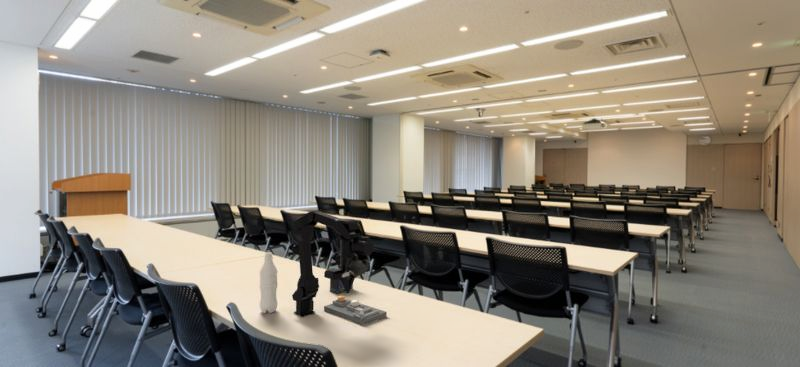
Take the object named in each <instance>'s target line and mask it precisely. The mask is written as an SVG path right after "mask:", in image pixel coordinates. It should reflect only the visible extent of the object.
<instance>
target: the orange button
mask: <svg viewBox="0 0 800 367" xmlns="http://www.w3.org/2000/svg"><path fill="white" fill-rule="evenodd" d="M336 298H337V299H336V300H337V302H340V303H342V302H345V299H346V296H345V295H338V296H337V297H336Z"/></svg>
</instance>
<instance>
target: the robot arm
mask: <svg viewBox="0 0 800 367" xmlns="http://www.w3.org/2000/svg"><path fill="white" fill-rule="evenodd" d="M317 224H321V225H324V226H326V227H329V228H332V229H334V231H335V232H336V233H337V234H339V236H337V237H336V241H340V254H338V258H339V259H340V264H339V265H338V266H337V267H338V268H334V267H333V268H328V269H326V270H325V271H324V273H323V274H324V276H323V277H324V278H327V279H329V280H330V279H332V280H336V279H340V281H341V282H342V284H343V287H344V289H345V292H346V294H350V293H351V287H352V284H353V285H354V281H355V279H356V278H357V277H359V276H360V275H365V274H366V273H367V272H368V273H369V272H370V271H371V266H370V260H368V259H364V260H360V259H359V255H362V256H371V255H372V254H373V252H374V246H375V245H374V243H373V241H372V240H371V237H370V236H364V234H363V231H362V230H361V228H360V226H359V223H358V221H357V220H356V219H353V218H341V217H337V216H334V215H331V214H328V213H325V212H322V211H320V210H318V209H317V210H310V211H308V212H307V213H306V214H304V215H302V216H301V217H299V218H298V219H295V220H294V221H293V223H292V226H291V227H292V232H293V236H294V238H295V239H296V240H297V246H298V247H297V248H298V260H299V270H300V271H299V273H300V276H299V278H298V281H297V282H296V283H297V284H296V285H297V286H296V287H297V288H296V290H295V291H294V292H293V294H291V297H292V300H293V301H295V311H293V313H294V315H297V316H299V317H303V318H304V317H307V316H309V315H313V314H315V313H316V311H315V310H314V306H315V305H314V298H316V297H317V293H318V292H319V288H320V284H319V278H318V277H316V276H315V275H314V273H313V272H314V271H313V260H312V247H311V238H312V237H313V234H314V227H315V226H317ZM338 269H341V270H338Z"/></svg>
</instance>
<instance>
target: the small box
mask: <svg viewBox="0 0 800 367" xmlns="http://www.w3.org/2000/svg"><path fill="white" fill-rule="evenodd" d="M337 269H338V270H341V269H340V268H337ZM329 280H330V281H329V292H332V293H335V294H342V293H345V292H346V291H345V289H344V287H343V284H342V282H341V281H340V279H336V280H332V279H329ZM353 288H354V283H353V284H352V287H351V290H353ZM351 290H350V291H351Z"/></svg>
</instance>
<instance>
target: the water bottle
mask: <svg viewBox="0 0 800 367" xmlns="http://www.w3.org/2000/svg"><path fill="white" fill-rule="evenodd" d="M273 259H274V258H273V252H272V251H271V252H270V251H267V252H265V253H264V257H263V260H264V262H263V264H262V265H261V268H260V270H259V290H260V300H259V309H260V312H261V313H263V314H266V313H267V312H268V313H269V314H273V312H275V311H276V310H277V308H278V299H277V290H278V289H277V288H278V269H277V266H276V265H275V262H274V261H273Z"/></svg>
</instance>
